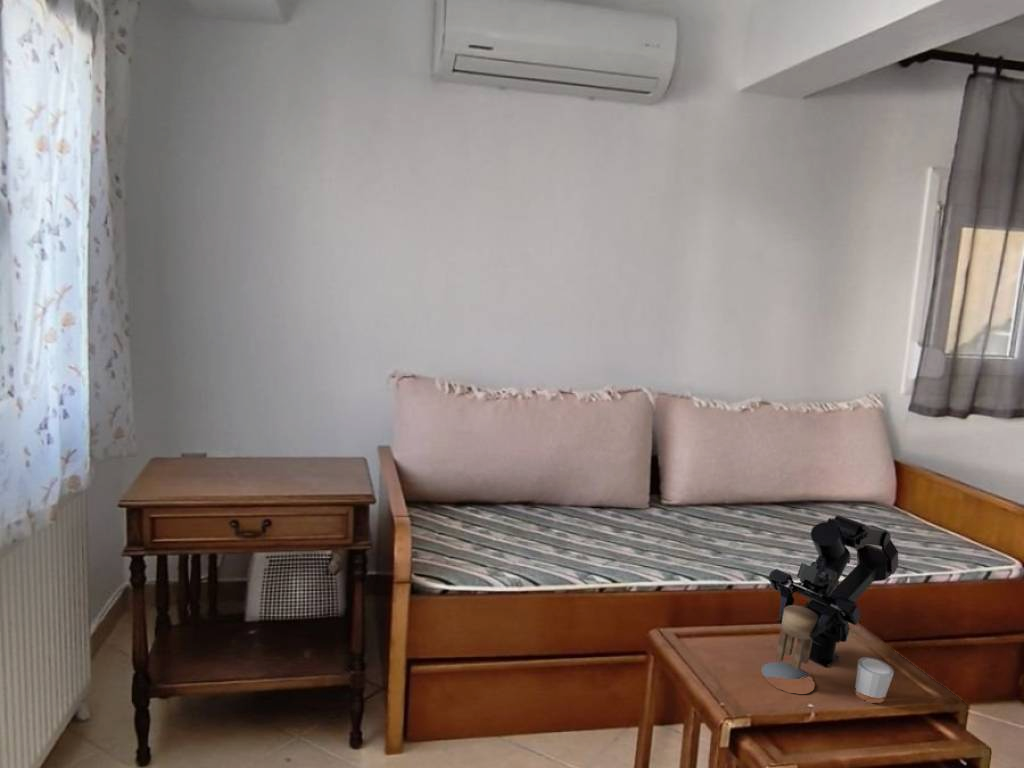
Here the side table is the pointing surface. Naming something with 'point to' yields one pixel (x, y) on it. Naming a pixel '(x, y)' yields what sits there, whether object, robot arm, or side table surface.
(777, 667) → the mat
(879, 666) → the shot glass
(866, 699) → the side table surface
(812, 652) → the robot arm
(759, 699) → the side table surface
